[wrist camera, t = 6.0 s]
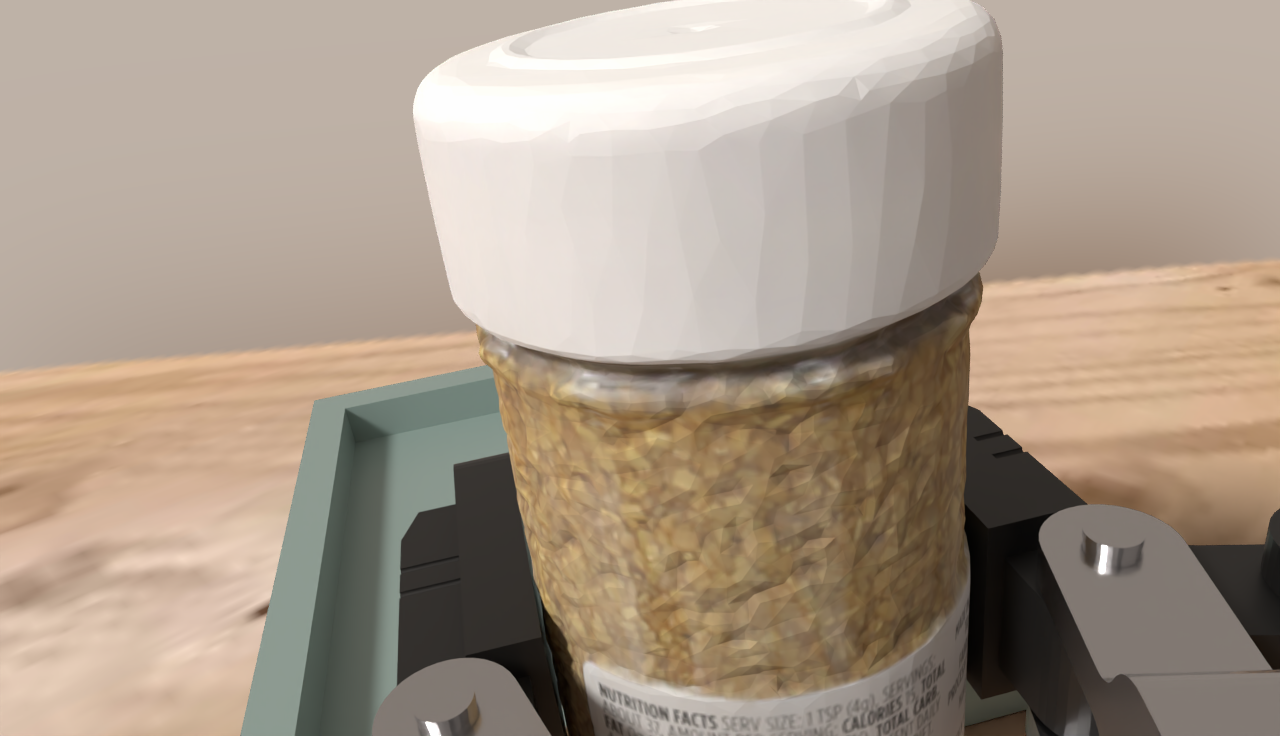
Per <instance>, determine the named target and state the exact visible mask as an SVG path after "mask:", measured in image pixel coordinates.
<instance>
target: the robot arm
mask: <svg viewBox="0 0 1280 736" xmlns="http://www.w3.org/2000/svg"><path fill="white" fill-rule="evenodd" d="M453 471H454V487H455V503H456V504H453V505H449V506H445V507H440V508H436V509H431V510H427V511H422V512H419V513H418V514H417V516H416V517H415V519H414V521H413V522H412V524H411V525H410V527H409V529H408V530H407V532H406V533H405V535H404V537H403V538H402V540H401V557H400V570H401V574H400V598H399V627H398V662H397V686H396V687H395V688H394V689H393V690H392V691H391V692H390V694H389V695H388V696H387V697H386V698H385V699H384V701H383V703H382V704H381V706H380V707H379V709H378V711H377V713H376V716H375V718H374V722H373V726H372V736H567V732H566V726H565V721H564V715H563V710H562V704H561V701H560V698H559V692H558V687H557V678H556V675H555V671H554V667H553V661H552V653H551V650H550V648H549V645H548V643H547V640H546V636H545V628H544V621H543V614H542V605H541V598H540V593H539V591H538V589H537V587H536V585H535V582H534V577H533V567H532V559H531V555H530V550H529V547H528V543H527V539H526V536H525V527H524V523H523V520H522V516H521V513H520V509H519V505H518V501H517V489H516V486H515V481H514V475H513V470H512V465H511V460H510V454H509V452H508V453H503V454H498V455H494V456H489V457H485V458H480V459H476V460H471V461H467V462H462V463H457V464H454V465H453ZM964 507H965V525H964V530H965V533H966V537H967V542H968V548H969V554H970V600H969V624H968V648H967V673H966V679H967V681H968V682H969V684H970V685H971V686H972V688H973V689H974V691H975V692H976V693H977V695H978V696H979V697H980V699H981V700H982V699H986V698H990V697H993V696H997V695H1001V694H1005V693H1008V692H1012V691H1016V690H1017V691H1018V692H1019V694H1020V695H1021V696H1022V698H1023V699H1024V700H1025V701H1026V703H1027V709H1026V723H1025V732H1026V736H1280V509H1279V510H1277V511H1276V512H1275V513H1274V514H1273V516H1272V517H1271V519H1270V523H1269V527H1268V532H1267V537H1266V542H1265V545H1203V546H1198V545H1187V543H1186V542H1185V540H1184V539H1183V538H1182V537H1181V536H1180V535H1179V533H1177V532H1176V531H1175V530H1174V529H1173V528H1172V527H1170V526H1169V525H1167V524H1166V523H1164V522H1163V521H1161V520H1159V519H1157V518H1155V517H1153V516H1151V515H1148V514H1145V513H1143V512H1140V511H1137V510H1133V509H1129V508H1125V507H1119V506H1113V505H1102V504H1101V505H1088V504H1087V503H1085V502H1084V501H1083V500H1082V499H1081V498H1080V497H1079V496H1077V495H1076V494H1075V493H1074V492H1073V491H1072V490H1070V489H1069V488H1068V487H1067V486H1066V485H1065V484H1064V483H1062V482H1061V481H1060V480H1059V479H1058V478H1057V477H1056V476H1054V475H1053V474H1052V473H1051V472H1050V471H1049V470H1047V469H1046V468H1045V467H1044V466H1043V465H1042V464H1041V463H1039V462H1038V461H1037V460H1036V459H1035V458H1034V457H1032V456H1031V455H1030V454H1029V453H1028V452H1023V451H1022V447H1021V446H1020V445H1019V444H1018V443H1016V442H1015V441H1014V440H1013V439H1012V438H1011V437H1009V436H1008V435H1003V430H1001V429H1000V428H999V427H998V426H997V425H996V424H995V423H993V422H992V421H991V420H990V419H989V418H988V417H986V416H985V415H984V414H983V413H982V412H981V411H980V410H978V409H975V408H973V407H971V406H968V411H967V439H966V482H965V489H964Z"/></svg>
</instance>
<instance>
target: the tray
mask: <svg viewBox="0 0 1280 736" xmlns="http://www.w3.org/2000/svg"><path fill="white" fill-rule="evenodd" d="M508 452H509V449H508V444H507V433H506V432H505V430H504V427H503V423H502V419H501V414H500V410H499V396H498V393H497V389H496V385H495V380H494V375H493V370H492V368H490V367H489V366H488V365H485V366H480V367H475V368H471V369H466V370H461V371H456V372H451V373H446V374H441V375H437V376H432V377H427V378H422V379H417V380H412V381H407V382H403V383H398V384H393V385H388V386H383V387H378V388H373V389H369V390H364V391H359V392H354V393H349V394H344V395H339V396H335V397H330V398H325V399H320V400H315V401H314V405H313V409H312V414H311V419H310V423H309V428H308V432H307V437H306V441H305V446H304V450H303V455H302V459H301V464H300V468H299V473H298V477H297V482H296V486H295V491H294V495H293V500H292V504H291V509H290V513H289V518H288V523H287V527H286V532H285V536H284V541H283V545H282V550H281V554H280V559H279V563H278V568H277V572H276V577H275V581H274V586H273V590H272V595H271V599H270V604H269V608H268V613H267V617H266V622H265V626H264V631H263V636H262V640H261V645H260V649H259V654H258V658H257V663H256V667H255V672H254V676H253V681H252V685H251V690H250V694H249V699H248V703H247V708H246V712H245V717H244V721H243V726H242V730H241V735H240V736H372V726H373V722H374V718H375V716H376V713H377V711H378V709H379V707H380V706H381V704H382V703H383V701H384V699H385V698H386V697H387V696H388V695H389V694H390V692H391V691H392V690H393V689H394V688H395V687H396V686H397V662H398V627H399V598H400V574H401V570H400V557H401V540H402V538H403V537H404V535H405V533H406V532H407V530H408V529H409V527H410V525H411V524H412V522H413V521H414V519H415V517H416V516H417V514H418V513H419V512H422V511H427V510H431V509H436V508H440V507H445V506H449V505H453V504H456V503H455V487H454V471H453V465H454V464H457V463H462V462H467V461H471V460H476V459H480V458H485V457H489V456H494V455H498V454H503V453H508ZM1026 709H1027V703H1026V701H1025V700H1024V699H1023V698H1022V696H1021V695H1020V694H1019V692H1018V691H1017V690H1016V691H1012V692H1008V693H1005V694H1001V695H997V696H993V697H990V698H986V699H982V700H981V699H980V697H979V696H978V695H977V693H976V692H975V691H974V689H973V688H972V686H971V685H970V684H969V682H968V681H967V679H966V698H965V723H964V727H965V726H968V725H972V724H976V723H979V722H983V721H987V720H990V719H994V718H997V717H1001V716H1005V715H1008V714H1012V713H1016V712H1019V711H1023V710H1026ZM562 710H563V707H562ZM563 715H564V711H563ZM564 721H565V717H564ZM565 726H566V722H565Z"/></svg>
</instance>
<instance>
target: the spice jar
mask: <svg viewBox="0 0 1280 736" xmlns="http://www.w3.org/2000/svg"><path fill="white" fill-rule="evenodd" d="M413 118H414V124H415V129H416V135H417V141H418V146H419V151H420V156H421V160H422V165H423V170H424V175H425V179H426V184H427V188H428V194H429V199H430V203H431V208H432V213H433V217H434V221H435V226H436V230H437V234H438V239H439V243H440V248H441V252H442V256H443V260H444V264H445V269H446V273H447V277H448V281H449V286H450V289H451V293H452V296H453V299H454V302H455V303H456V304H457V306H458V307H459V308H460V310H461V311H462V312H463V313H464V315H465V316H466V317H468V318H469V319H471V320H472V321H473V322H474V323H476V330H477V336H478V340H479V343H480V350H479V355H480V357H481V359H482V360H483V362H484V363H485V364H487V365H488V366H489V367H490V368H492V370H493V375H494V380H495V385H496V389H497V393H498V396H499V410H500V414H501V419H502V423H503V427H504V430H505V432H506V433H507V444H508V449H509V454H510V460H511V465H512V470H513V475H514V481H515V486H516V489H517V501H518V505H519V509H520V513H521V516H522V520H523V523H524V527H525V536H526V539H527V543H528V547H529V550H530V555H531V559H532V567H533V577H534V582H535V585H536V587H537V589H538V591H539V593H540V598H541V605H542V614H543V621H544V628H545V636H546V640H547V643H548V645H549V648H550V650H551V653H552V661H553V667H554V671H555V675H556V678H557V687H558V692H559V698H560V701H561V704H562V707H563V711H564V717H565V722H566V732H567V736H964V723H965V698H966V673H967V648H968V624H969V600H970V554H969V548H968V542H967V537H966V533H965V530H964V525H965V507H964V489H965V482H966V439H967V411H968V400H969V372H970V340H969V328H970V325H971V323H972V321H973V320H974V318H975V317H976V315H977V313H978V310H979V307H980V305H981V302H982V293H983V285H982V281H981V277H980V273H979V271H980V270H981V269H982V268H983V267H984V265H985V264H986V262H987V261H988V259H989V258H990V256H991V254H992V252H993V251H994V249H995V245H996V242H997V238H998V227H999V211H1000V194H1001V163H1002V122H1003V51H1002V40H1001V35H1000V32H999V30H998V27H997V25H996V22H995V19H994V18H993V17H992V16H991V15H990V14H989V13H988V12H987V11H986V10H985V9H984V8H983V7H982V6H981V5H979V4H977V3H976V2H973V1H970V0H675V1H668V2H661V3H655V4H649V5H644V6H639V7H634V8H628V9H622V10H616V11H611V12H605V13H601V14H596V15H591V16H587V17H581V18H577V19H573V20H569V21H566V22H562V23H558V24H554V25H550V26H547V27H543V28H539V29H534V30H531V31H527V32H523V33H519V34H515V35H512V36H508V37H505V38H502V39H499V40H496V41H493V42H490V43H487V44H484V45H481V46H478V47H476V48H473V49H470V50H467V51H465V52H462V53H460V54H458V55H456V56H454V57H452V58H450V59H448V60H447V61H445V62H444V63H442V64H440V65H439V66H437V67H436V68H435V69H434V70H432V71H431V72H430V73H429V74H428V75H427V76H426V77H425V78H424V79H423V81H422V82H421V84H420V85H419V87H418V90H417V94H416V97H415V100H414V104H413Z"/></svg>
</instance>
